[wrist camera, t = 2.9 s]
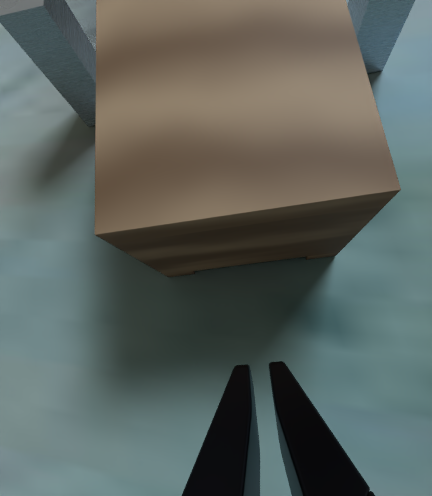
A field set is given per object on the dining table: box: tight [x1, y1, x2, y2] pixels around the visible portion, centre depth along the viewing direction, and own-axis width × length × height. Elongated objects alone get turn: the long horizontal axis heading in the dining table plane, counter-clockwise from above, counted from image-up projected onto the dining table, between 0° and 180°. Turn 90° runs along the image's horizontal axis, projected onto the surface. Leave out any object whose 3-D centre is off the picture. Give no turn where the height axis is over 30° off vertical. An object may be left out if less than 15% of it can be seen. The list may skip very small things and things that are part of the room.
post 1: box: [0, 0, 96, 127], centre depth 23 cm, size 3×3×10 cm
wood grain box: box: [95, 0, 401, 277], centre depth 19 cm, size 16×12×10 cm
